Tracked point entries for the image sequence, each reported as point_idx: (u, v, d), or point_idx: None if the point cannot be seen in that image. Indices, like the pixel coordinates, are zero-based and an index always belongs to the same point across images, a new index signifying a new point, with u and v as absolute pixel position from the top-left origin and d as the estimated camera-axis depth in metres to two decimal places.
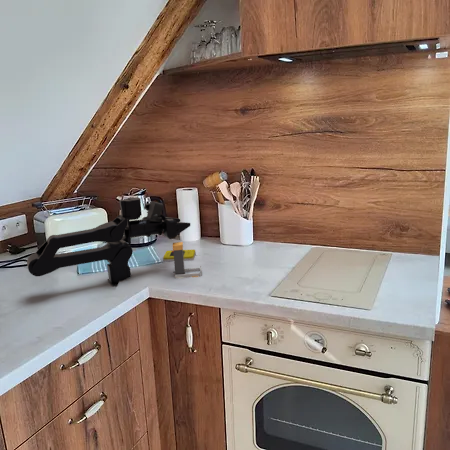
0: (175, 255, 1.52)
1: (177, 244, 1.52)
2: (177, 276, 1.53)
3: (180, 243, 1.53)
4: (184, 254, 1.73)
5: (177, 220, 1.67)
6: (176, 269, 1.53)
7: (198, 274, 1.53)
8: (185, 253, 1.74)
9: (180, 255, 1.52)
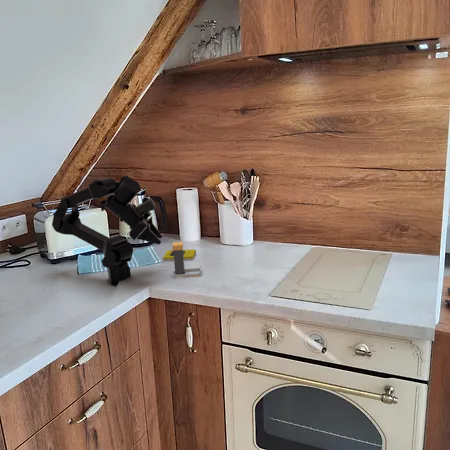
0: (175, 255, 1.52)
1: (177, 244, 1.52)
2: (177, 276, 1.53)
3: (180, 243, 1.53)
4: (184, 254, 1.73)
5: (159, 235, 1.56)
6: (176, 269, 1.53)
7: (198, 274, 1.53)
8: (185, 253, 1.74)
9: (180, 255, 1.52)
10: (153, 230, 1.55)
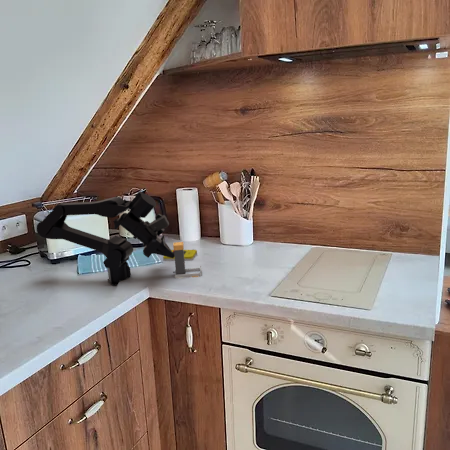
0: (176, 255, 1.52)
1: (178, 244, 1.52)
2: (177, 276, 1.53)
3: (181, 243, 1.53)
4: (184, 254, 1.73)
5: None
6: (177, 269, 1.53)
7: (198, 274, 1.53)
8: (186, 253, 1.74)
9: (180, 255, 1.52)
10: None
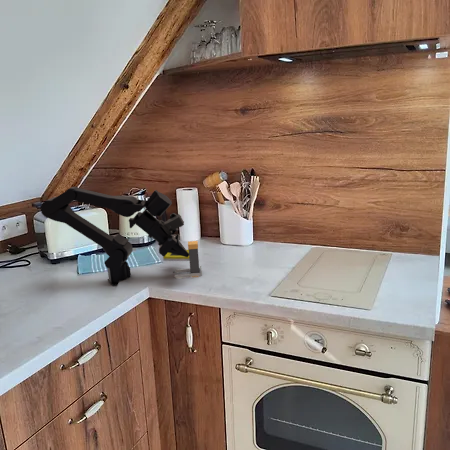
0: (190, 254, 1.52)
1: (192, 243, 1.52)
2: (177, 276, 1.53)
3: (195, 242, 1.54)
4: None
5: None
6: (191, 268, 1.53)
7: (198, 274, 1.53)
8: None
9: (195, 254, 1.52)
10: None
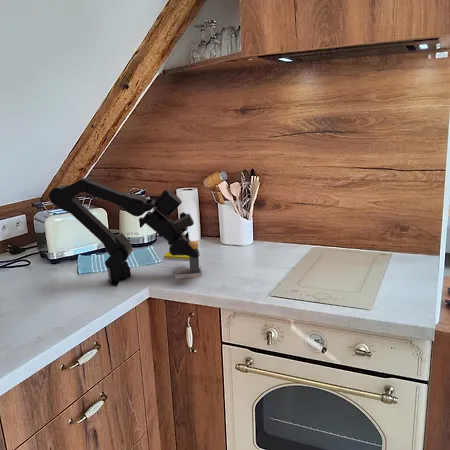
0: None
1: (192, 243, 1.52)
2: (177, 276, 1.53)
3: (195, 242, 1.54)
4: None
5: None
6: (191, 268, 1.53)
7: (198, 274, 1.53)
8: None
9: None
10: None
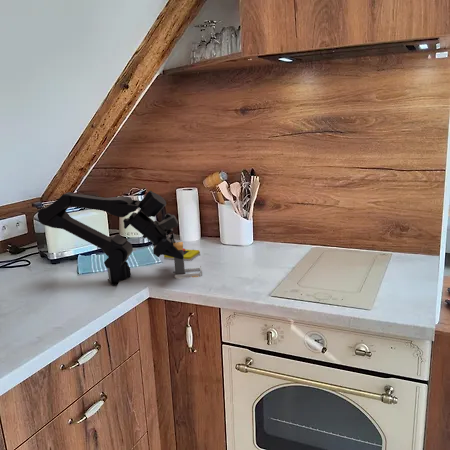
0: None
1: (177, 244, 1.52)
2: (177, 276, 1.53)
3: (180, 243, 1.53)
4: (185, 254, 1.73)
5: None
6: (176, 269, 1.53)
7: (198, 274, 1.53)
8: (187, 253, 1.74)
9: None
10: None
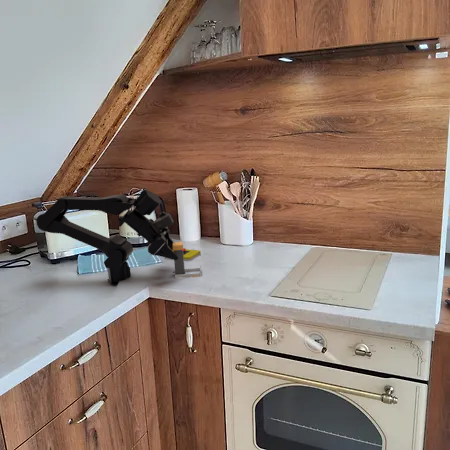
0: None
1: (177, 244, 1.52)
2: (177, 276, 1.53)
3: (180, 243, 1.53)
4: (185, 254, 1.73)
5: None
6: (176, 269, 1.53)
7: (198, 274, 1.53)
8: (187, 253, 1.74)
9: (180, 255, 1.52)
10: (170, 244, 1.58)
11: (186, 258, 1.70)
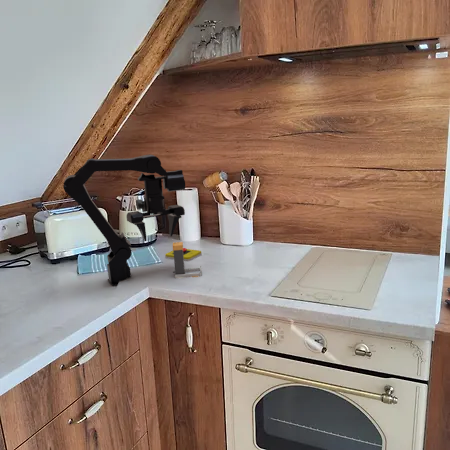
0: (175, 255, 1.52)
1: (177, 244, 1.52)
2: (177, 276, 1.53)
3: (180, 243, 1.53)
4: (185, 254, 1.73)
5: None
6: (176, 269, 1.53)
7: (198, 274, 1.53)
8: (187, 253, 1.73)
9: (180, 255, 1.52)
10: None
11: (185, 258, 1.69)
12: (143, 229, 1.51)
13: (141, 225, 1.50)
